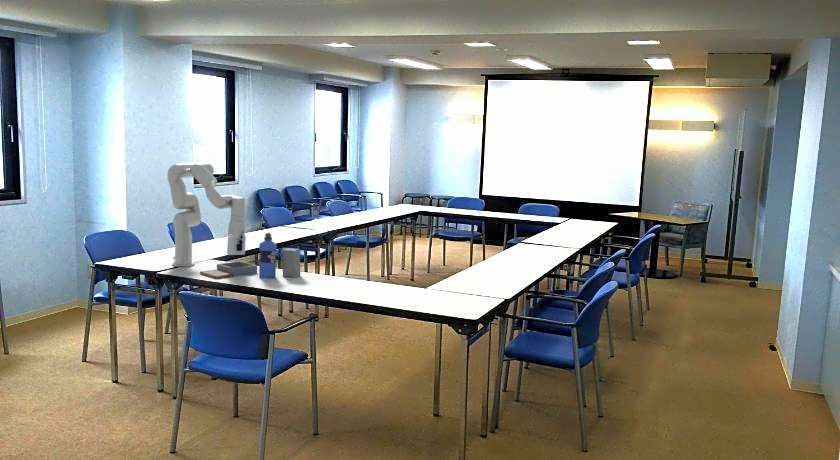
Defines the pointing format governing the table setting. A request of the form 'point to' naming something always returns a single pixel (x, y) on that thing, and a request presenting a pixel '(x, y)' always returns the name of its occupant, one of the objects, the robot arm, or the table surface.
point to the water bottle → (267, 258)
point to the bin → (237, 268)
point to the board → (216, 274)
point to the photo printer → (234, 246)
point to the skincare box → (291, 262)
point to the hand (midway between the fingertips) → (236, 249)
